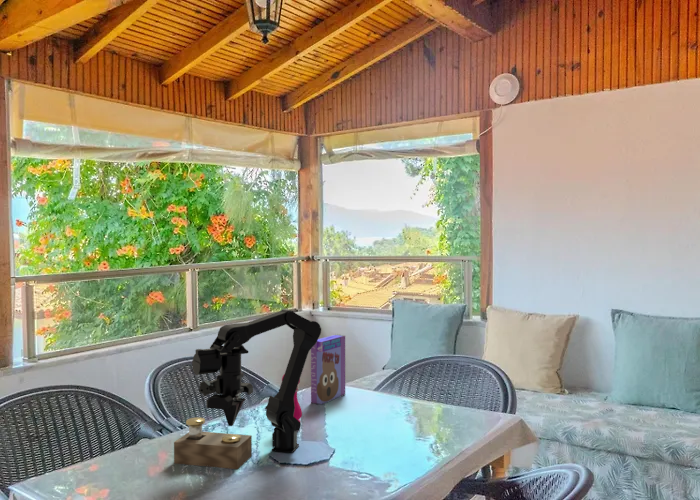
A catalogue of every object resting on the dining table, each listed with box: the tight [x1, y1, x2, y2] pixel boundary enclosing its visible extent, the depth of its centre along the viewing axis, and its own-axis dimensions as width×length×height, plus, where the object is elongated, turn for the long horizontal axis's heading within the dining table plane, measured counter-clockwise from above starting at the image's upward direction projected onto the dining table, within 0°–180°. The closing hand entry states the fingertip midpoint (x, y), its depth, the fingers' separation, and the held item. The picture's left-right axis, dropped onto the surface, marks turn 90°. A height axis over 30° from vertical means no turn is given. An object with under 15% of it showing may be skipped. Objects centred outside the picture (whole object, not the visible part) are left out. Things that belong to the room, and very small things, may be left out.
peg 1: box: [185, 416, 206, 440], centre depth 170 cm, size 5×5×6 cm
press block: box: [173, 431, 253, 470], centre depth 169 cm, size 19×10×6 cm, turn 77°
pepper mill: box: [281, 374, 303, 423], centre depth 198 cm, size 7×7×20 cm
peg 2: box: [222, 433, 241, 443], centre depth 168 cm, size 5×5×6 cm
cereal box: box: [310, 334, 346, 406], centre depth 234 cm, size 17×5×24 cm, turn 149°
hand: (230, 425), depth 168 cm, fingers closed
